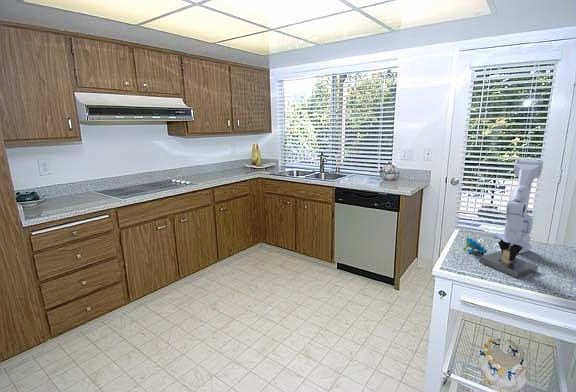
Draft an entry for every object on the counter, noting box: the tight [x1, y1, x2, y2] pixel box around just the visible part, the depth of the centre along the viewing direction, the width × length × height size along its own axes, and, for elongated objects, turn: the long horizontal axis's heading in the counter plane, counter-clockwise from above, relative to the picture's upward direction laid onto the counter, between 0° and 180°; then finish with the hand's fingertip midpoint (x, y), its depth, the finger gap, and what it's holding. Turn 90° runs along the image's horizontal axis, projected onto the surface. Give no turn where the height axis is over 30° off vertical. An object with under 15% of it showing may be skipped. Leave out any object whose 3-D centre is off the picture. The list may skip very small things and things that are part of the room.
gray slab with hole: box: [478, 251, 539, 279], centre depth 133 cm, size 13×16×2 cm
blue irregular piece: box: [463, 237, 488, 254], centre depth 147 cm, size 11×6×10 cm
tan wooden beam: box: [501, 248, 514, 264], centre depth 133 cm, size 4×3×7 cm, turn 113°
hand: (508, 259), depth 133 cm, fingers closed on tan wooden beam, 2 cm apart
